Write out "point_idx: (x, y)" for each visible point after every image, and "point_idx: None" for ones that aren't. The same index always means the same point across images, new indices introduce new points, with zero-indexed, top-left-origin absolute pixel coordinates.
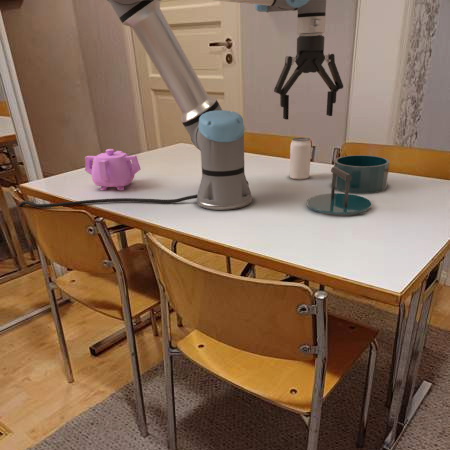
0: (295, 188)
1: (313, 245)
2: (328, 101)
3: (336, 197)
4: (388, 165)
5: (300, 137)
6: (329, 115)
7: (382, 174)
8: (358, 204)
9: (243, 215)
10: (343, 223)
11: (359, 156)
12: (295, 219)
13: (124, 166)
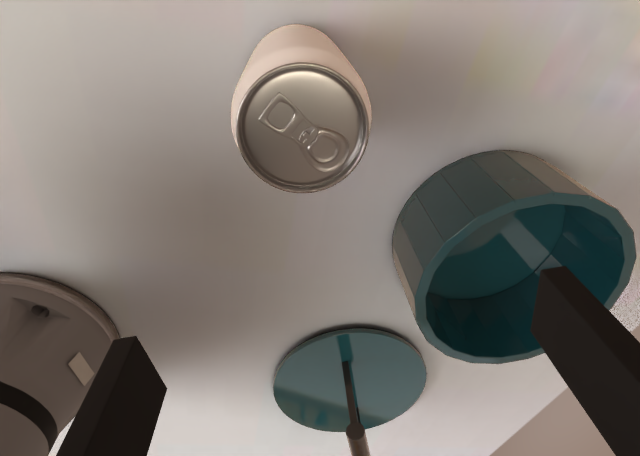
0: (260, 233)
1: None
2: (621, 402)
3: (356, 360)
4: None
5: (310, 65)
6: (532, 328)
7: None
8: (389, 400)
9: None
10: (329, 444)
11: (570, 204)
12: (239, 429)
13: None
